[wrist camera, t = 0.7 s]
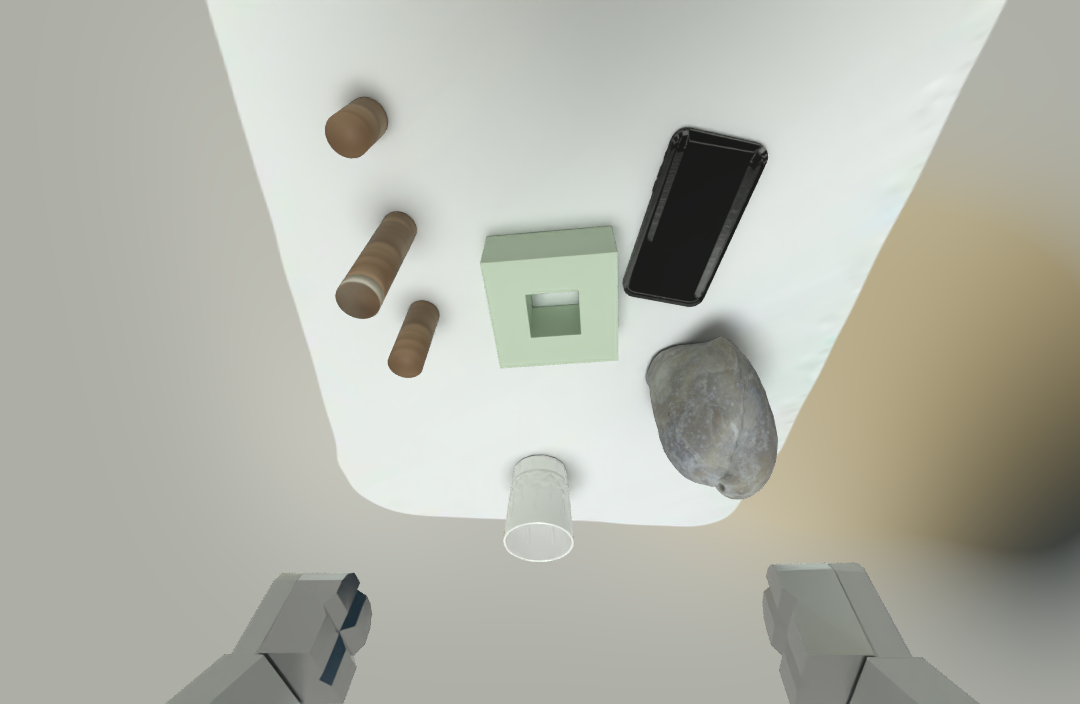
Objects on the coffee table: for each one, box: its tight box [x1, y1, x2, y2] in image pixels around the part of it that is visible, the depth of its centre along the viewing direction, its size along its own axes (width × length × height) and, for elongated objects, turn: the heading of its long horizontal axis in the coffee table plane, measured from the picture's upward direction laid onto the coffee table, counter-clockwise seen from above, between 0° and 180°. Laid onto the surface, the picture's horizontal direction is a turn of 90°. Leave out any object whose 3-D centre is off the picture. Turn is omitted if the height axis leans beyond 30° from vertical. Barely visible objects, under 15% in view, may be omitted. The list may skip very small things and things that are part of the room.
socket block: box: [480, 226, 618, 368], centre depth 45 cm, size 11×11×5 cm
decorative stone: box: [646, 336, 778, 499], centre depth 48 cm, size 15×10×15 cm
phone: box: [623, 128, 768, 307], centre depth 43 cm, size 8×1×15 cm
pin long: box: [335, 212, 417, 319], centre depth 39 cm, size 3×3×12 cm
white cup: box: [503, 455, 574, 562], centre depth 60 cm, size 8×8×10 cm
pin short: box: [325, 97, 388, 158], centre depth 37 cm, size 3×3×5 cm
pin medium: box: [388, 301, 439, 378], centre depth 47 cm, size 3×3×8 cm
